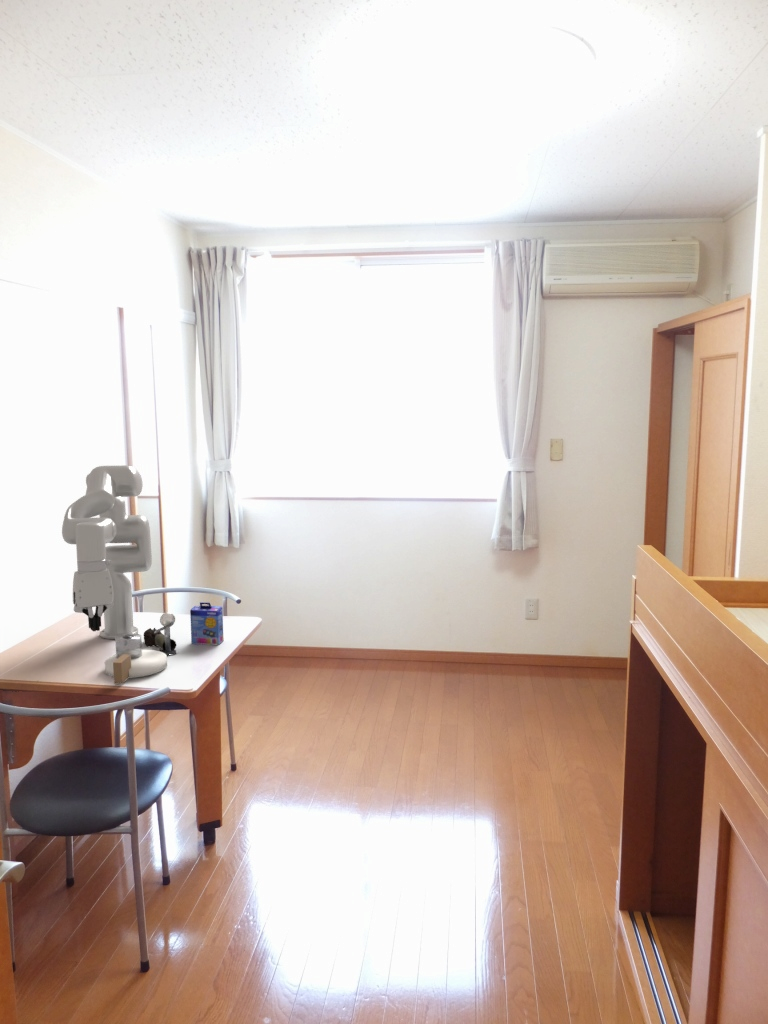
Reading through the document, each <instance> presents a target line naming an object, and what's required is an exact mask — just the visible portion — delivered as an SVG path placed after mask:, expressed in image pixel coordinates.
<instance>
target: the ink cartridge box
mask: <svg viewBox="0 0 768 1024" xmlns="http://www.w3.org/2000/svg"><path fill="white" fill-rule="evenodd" d="M223 612H224V611H223V606H219V605H217V606H214V605H211V603H210V602H201V601H200V602H199V605H194V606H193V607H192V608H191V609H190V612H189V614H190V637H191V639H190V640H191V644H190V645H205V644H219V645H220V644H221V643H223V642H224V639H225V638H224V618H223Z"/></svg>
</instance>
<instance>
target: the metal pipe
mask: <svg viewBox="0 0 768 1024" xmlns="http://www.w3.org/2000/svg"><path fill="white" fill-rule="evenodd" d="M155 630H157V629H156V627H154V628H153V629H152V628H150V627H149V628H147V630H144V632H143V642H144V645H145V646H146V647H148V646H150V647H158V648H160V650H164V651H165V638H164V634H163V633H162V631H159V632H157V633H155V632H154V631H155ZM170 643H171V648H173V649H174V650H175V649H176V648H177V642H176V641H175V640H174V639H173V638H171V637H170ZM157 645H158V646H157Z"/></svg>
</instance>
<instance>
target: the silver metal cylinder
mask: <svg viewBox="0 0 768 1024" xmlns="http://www.w3.org/2000/svg"><path fill="white" fill-rule="evenodd" d="M114 641H115V655H116V658H117V659H118V658H119V657H120V656H121V655H123V654H126V655H131V660H132V659H136V658H139V657H141V656H142V650H143V648H142V647H143V646H142V635H141V634H139V633H137V634H135V633H130V634H123V635H119V636H117V637H116V638H115V639H114Z"/></svg>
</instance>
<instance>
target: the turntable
mask: <svg viewBox="0 0 768 1024" xmlns="http://www.w3.org/2000/svg"><path fill="white" fill-rule="evenodd" d="M167 666H168V656H167V655H166V654H165V653H163V652H160V650H154V649H142V656H141V657H139V658H136V659H132V660H131V655H126V654H123V655H121V656H120V657H119V658H118V659H117V658H116V654H114V655H111V656H109V657H108V658H106V659H105V661H104V670H105V673H106V674H107V675H109V676H111V677H113V684H124V682H126V681H127V680H128V679H129V678H132V679H133V678H140V677H147V676H151V675H154V674H157V673H159V672H161V671H163V670H164V669H166V668H167Z"/></svg>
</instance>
